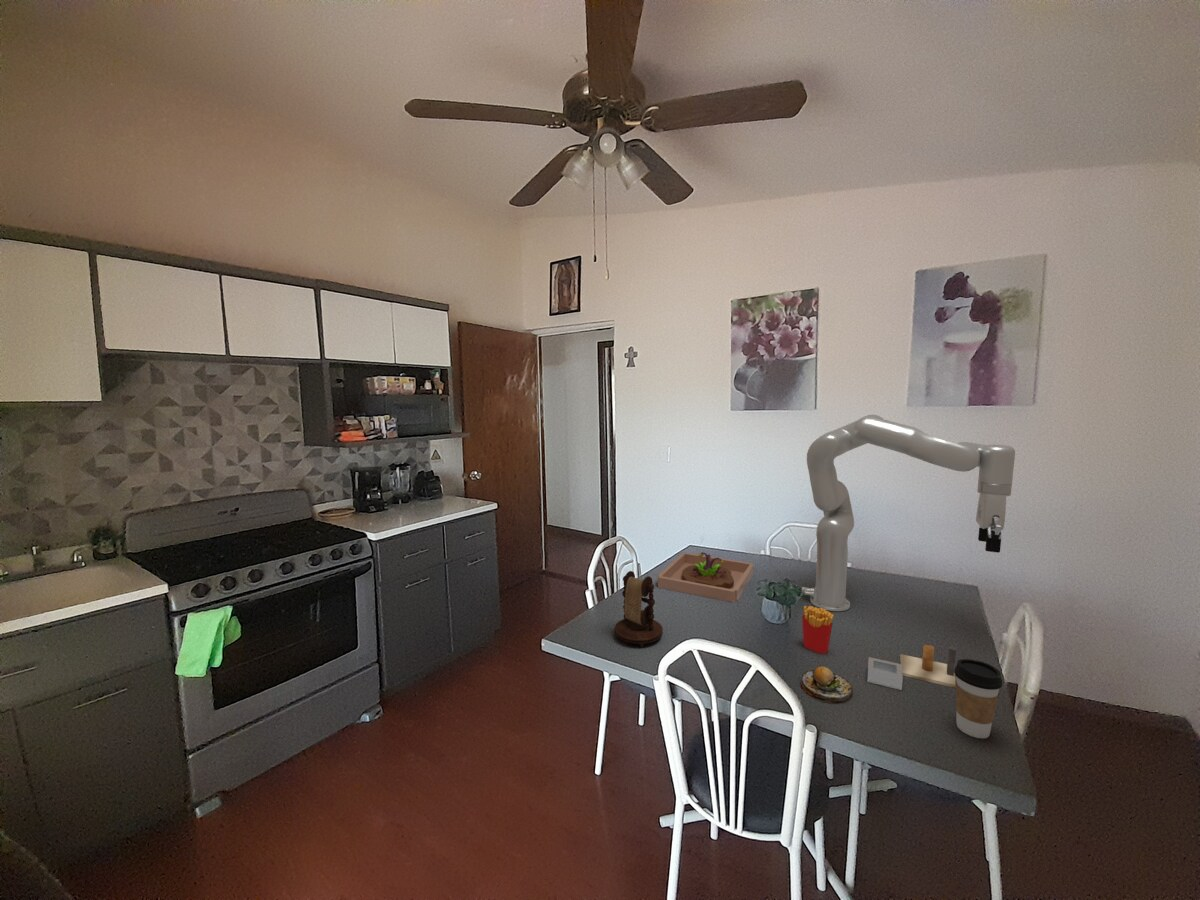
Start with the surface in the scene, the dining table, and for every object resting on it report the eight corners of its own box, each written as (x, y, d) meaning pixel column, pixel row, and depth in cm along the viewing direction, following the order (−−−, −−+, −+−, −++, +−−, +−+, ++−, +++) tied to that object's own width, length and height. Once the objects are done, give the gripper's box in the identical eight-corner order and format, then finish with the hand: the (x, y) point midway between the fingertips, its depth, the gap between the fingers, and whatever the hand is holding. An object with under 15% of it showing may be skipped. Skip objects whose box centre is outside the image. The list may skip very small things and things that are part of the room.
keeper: (901, 675, 130) (903, 647, 129) (900, 656, 139) (901, 629, 138) (957, 688, 124) (959, 658, 123) (952, 667, 133) (954, 640, 132)
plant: (680, 569, 205) (681, 543, 203) (729, 570, 202) (729, 544, 201) (682, 589, 185) (682, 560, 184) (735, 591, 183) (736, 562, 181)
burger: (863, 700, 121) (864, 672, 120) (820, 708, 118) (821, 679, 117) (830, 672, 133) (831, 646, 131) (790, 678, 130) (792, 652, 129)
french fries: (799, 645, 146) (800, 606, 144) (805, 640, 148) (807, 602, 147) (828, 656, 139) (830, 616, 138) (834, 651, 142) (836, 612, 140)
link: (867, 681, 128) (868, 669, 127) (867, 669, 133) (868, 657, 133) (901, 690, 124) (902, 677, 124) (900, 676, 130) (901, 664, 129)
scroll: (604, 637, 152) (603, 575, 149) (633, 619, 163) (633, 561, 160) (643, 654, 142) (643, 588, 140) (671, 634, 153) (672, 572, 151)
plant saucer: (656, 588, 188) (656, 576, 188) (683, 562, 214) (683, 552, 214) (735, 604, 174) (736, 592, 173) (754, 574, 200) (754, 563, 199)
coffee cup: (940, 717, 114) (945, 657, 112) (974, 715, 115) (980, 654, 112) (970, 744, 106) (976, 679, 104) (1007, 741, 106) (1014, 676, 104)
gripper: (972, 481, 150) (967, 536, 152) (984, 493, 135) (978, 553, 137) (1003, 483, 146) (997, 539, 149) (1019, 496, 131) (1013, 558, 134)
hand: (988, 546), depth 143 cm, fingers open, 9 cm apart
